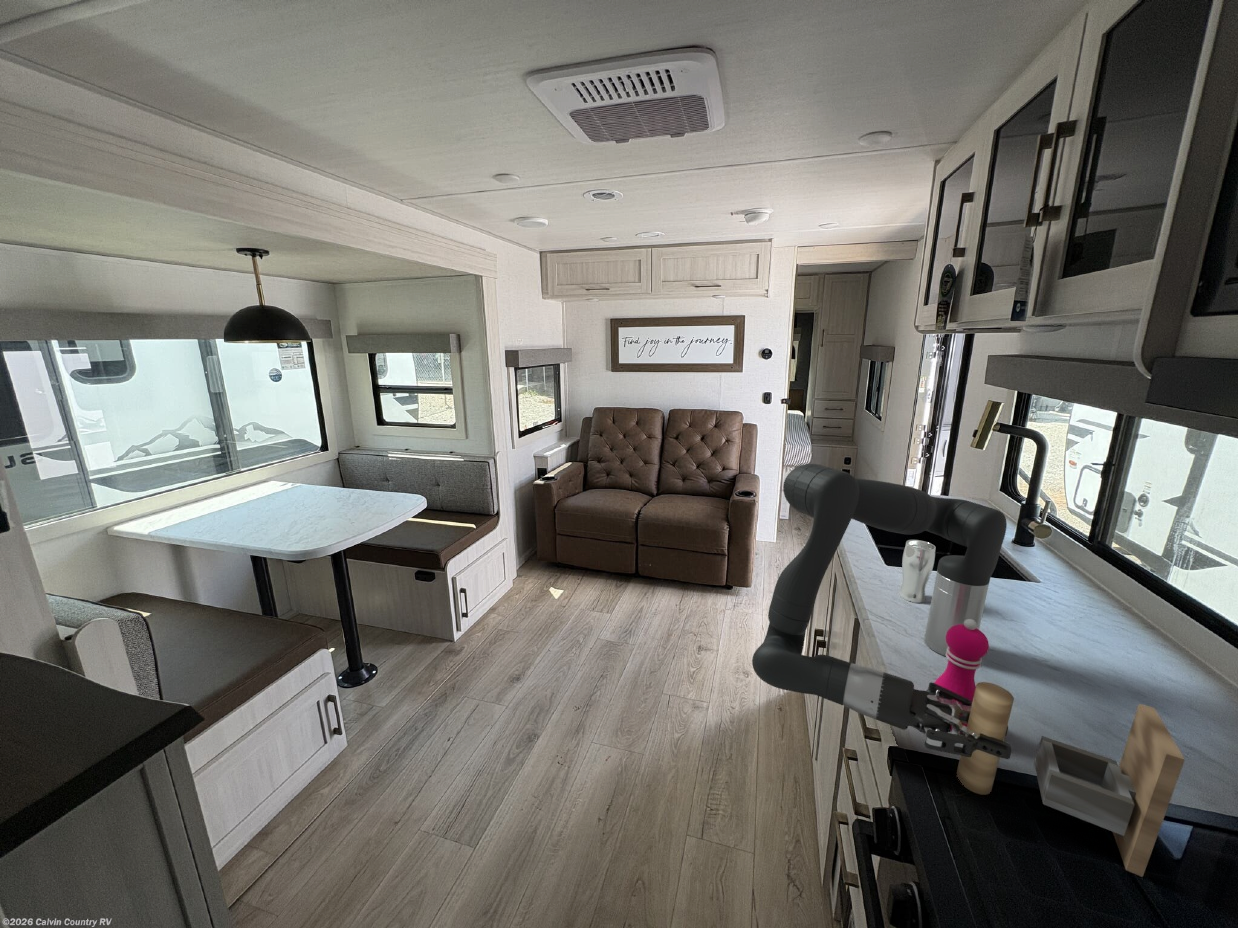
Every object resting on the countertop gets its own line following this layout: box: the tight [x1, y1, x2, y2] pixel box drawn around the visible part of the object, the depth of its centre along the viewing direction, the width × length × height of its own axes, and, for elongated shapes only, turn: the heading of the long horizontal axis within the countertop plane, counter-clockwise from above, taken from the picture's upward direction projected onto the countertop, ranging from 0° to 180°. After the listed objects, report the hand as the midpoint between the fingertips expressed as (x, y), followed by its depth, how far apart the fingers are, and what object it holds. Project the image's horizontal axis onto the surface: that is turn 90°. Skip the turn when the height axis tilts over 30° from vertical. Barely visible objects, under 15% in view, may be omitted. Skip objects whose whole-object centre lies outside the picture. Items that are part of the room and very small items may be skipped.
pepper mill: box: [933, 619, 990, 734], centre depth 84 cm, size 7×7×20 cm
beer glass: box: [898, 539, 936, 604], centre depth 127 cm, size 7×7×15 cm
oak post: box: [956, 681, 1015, 796], centre depth 73 cm, size 4×4×16 cm
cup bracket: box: [1033, 703, 1186, 878], centre depth 66 cm, size 10×10×18 cm
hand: (1008, 740), depth 71 cm, fingers closed on oak post, 4 cm apart
